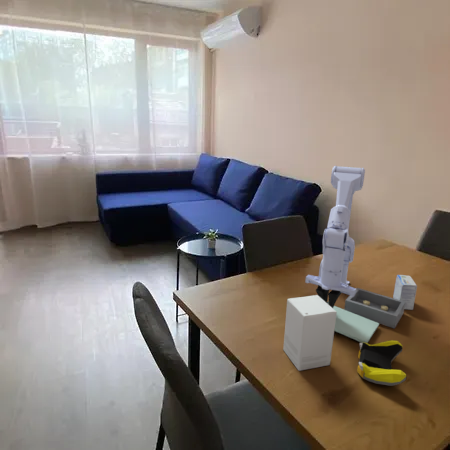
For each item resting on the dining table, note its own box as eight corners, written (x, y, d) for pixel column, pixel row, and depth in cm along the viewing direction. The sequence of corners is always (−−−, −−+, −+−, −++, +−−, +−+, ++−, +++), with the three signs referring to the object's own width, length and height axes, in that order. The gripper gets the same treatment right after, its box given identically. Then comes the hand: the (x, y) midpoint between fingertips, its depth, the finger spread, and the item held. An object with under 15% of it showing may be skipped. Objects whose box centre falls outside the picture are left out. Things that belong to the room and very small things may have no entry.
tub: (344, 311, 115) (345, 300, 114) (355, 298, 123) (357, 287, 122) (394, 328, 106) (396, 316, 105) (403, 313, 115) (405, 301, 114)
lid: (311, 323, 106) (314, 309, 105) (327, 307, 115) (329, 294, 114) (365, 347, 98) (369, 332, 96) (378, 328, 107) (381, 314, 105)
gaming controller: (399, 358, 94) (358, 348, 97) (402, 339, 92) (360, 330, 95) (403, 398, 80) (355, 385, 84) (408, 377, 79) (358, 365, 82)
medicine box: (413, 310, 117) (417, 286, 114) (398, 308, 118) (402, 284, 115) (406, 299, 124) (410, 275, 122) (392, 297, 125) (396, 274, 122)
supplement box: (331, 365, 90) (338, 311, 86) (298, 372, 87) (304, 316, 83) (312, 344, 98) (318, 293, 94) (282, 349, 96) (286, 297, 91)
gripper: (302, 266, 106) (298, 307, 110) (352, 280, 98) (346, 324, 102) (312, 259, 111) (308, 299, 115) (360, 271, 103) (354, 314, 107)
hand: (326, 310), depth 109 cm, fingers closed on lid
